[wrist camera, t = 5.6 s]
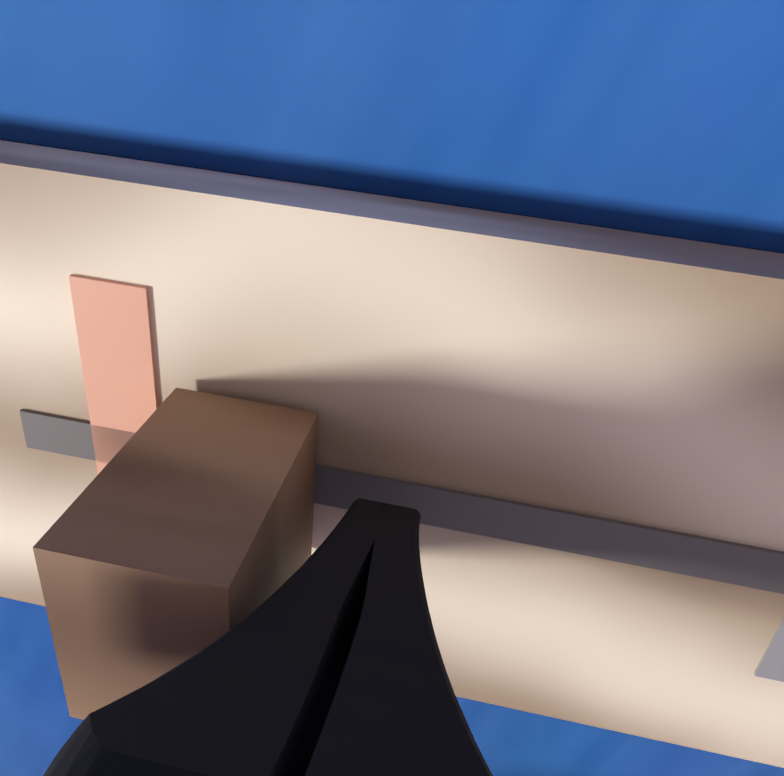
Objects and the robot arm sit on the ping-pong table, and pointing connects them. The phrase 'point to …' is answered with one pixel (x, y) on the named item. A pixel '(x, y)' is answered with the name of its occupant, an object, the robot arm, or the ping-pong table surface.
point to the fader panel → (438, 414)
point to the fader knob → (176, 541)
